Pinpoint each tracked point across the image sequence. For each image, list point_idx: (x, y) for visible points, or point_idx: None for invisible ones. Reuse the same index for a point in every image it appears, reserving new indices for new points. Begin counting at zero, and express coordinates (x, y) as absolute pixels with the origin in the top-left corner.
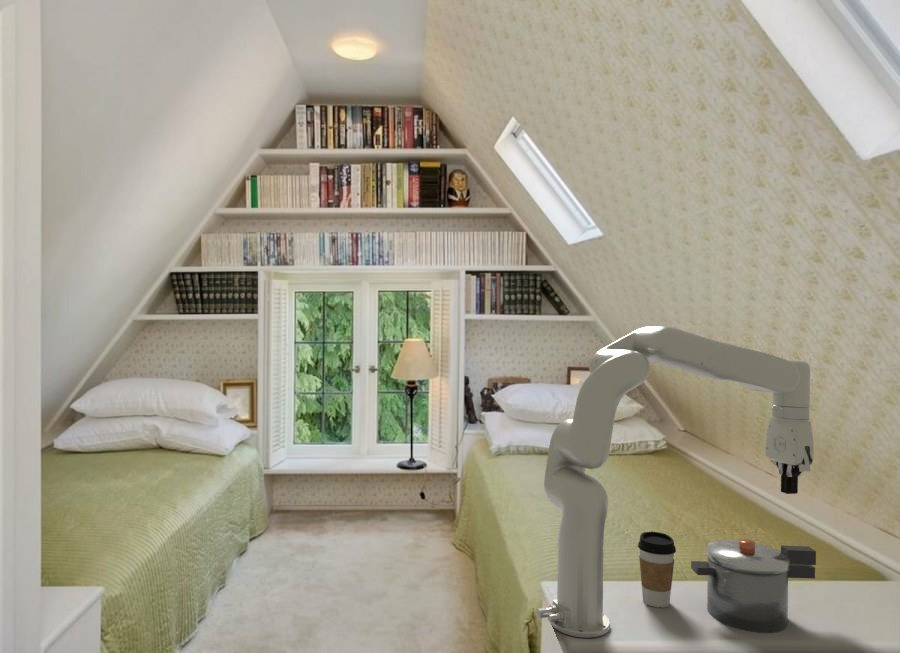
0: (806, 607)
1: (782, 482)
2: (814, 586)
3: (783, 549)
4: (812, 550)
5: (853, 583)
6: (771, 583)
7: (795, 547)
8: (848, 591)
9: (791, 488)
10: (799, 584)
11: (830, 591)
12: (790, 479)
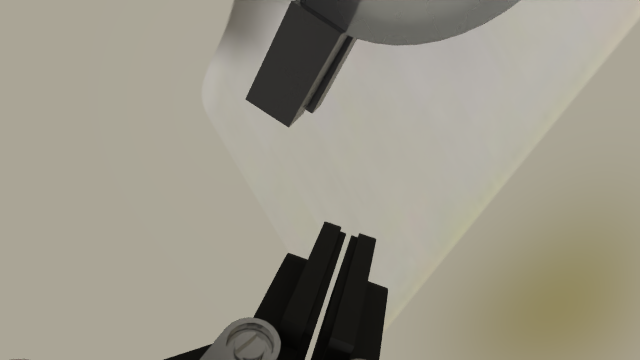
0: (367, 116)
1: (347, 283)
2: (422, 241)
3: (323, 19)
4: (255, 96)
5: (387, 313)
6: None
7: (300, 67)
8: (370, 269)
9: (284, 259)
10: (448, 226)
11: (389, 242)
12: (267, 314)
